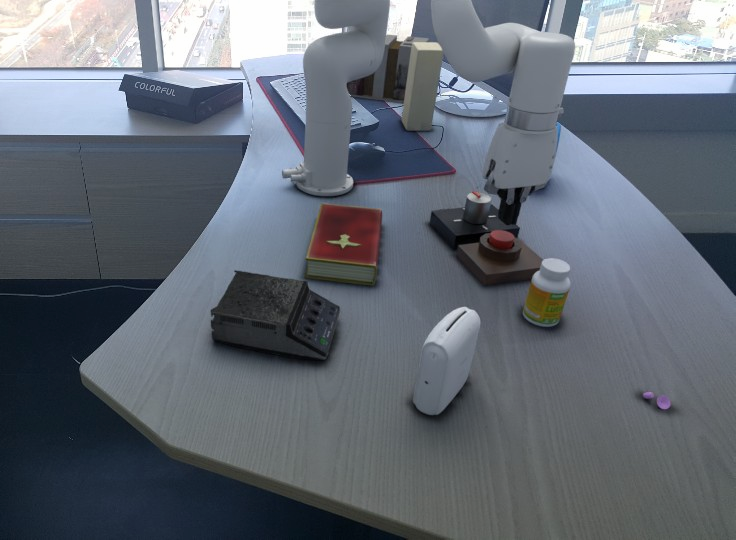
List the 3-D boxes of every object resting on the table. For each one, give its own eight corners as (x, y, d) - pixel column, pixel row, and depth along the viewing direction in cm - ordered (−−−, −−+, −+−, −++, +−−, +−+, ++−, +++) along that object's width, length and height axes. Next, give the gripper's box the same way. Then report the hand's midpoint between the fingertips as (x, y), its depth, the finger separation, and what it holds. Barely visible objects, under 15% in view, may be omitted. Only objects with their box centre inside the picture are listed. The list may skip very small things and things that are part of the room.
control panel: (453, 249, 117) (456, 234, 115) (429, 224, 125) (431, 209, 124) (516, 241, 120) (520, 227, 118) (488, 217, 128) (492, 203, 126)
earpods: (659, 412, 85) (664, 400, 85) (667, 412, 83) (672, 400, 83) (638, 399, 85) (644, 388, 85) (646, 399, 83) (651, 387, 84)
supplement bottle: (541, 331, 97) (558, 278, 91) (514, 313, 101) (528, 260, 95) (566, 321, 99) (584, 269, 94) (539, 303, 103) (554, 252, 98)
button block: (484, 285, 107) (488, 265, 105) (455, 255, 115) (459, 236, 113) (547, 277, 109) (553, 257, 107) (515, 248, 118) (520, 229, 115)
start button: (496, 251, 110) (498, 242, 109) (484, 239, 113) (485, 231, 112) (516, 248, 110) (519, 239, 109) (504, 237, 114) (506, 228, 113)
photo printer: (437, 421, 81) (453, 346, 74) (407, 406, 83) (420, 331, 77) (471, 379, 88) (489, 307, 81) (442, 366, 90) (458, 294, 83)
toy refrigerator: (434, 131, 169) (447, 49, 157) (406, 131, 169) (417, 49, 157) (427, 120, 175) (439, 41, 164) (401, 120, 175) (411, 41, 164)
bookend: (349, 80, 207) (353, 28, 198) (427, 89, 199) (434, 35, 190) (335, 94, 195) (339, 39, 186) (417, 104, 187) (425, 48, 178)
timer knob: (491, 223, 119) (496, 200, 117) (469, 225, 119) (474, 202, 116) (479, 212, 123) (484, 189, 120) (458, 214, 122) (463, 192, 120)
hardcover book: (381, 227, 124) (383, 207, 122) (375, 285, 107) (378, 264, 105) (320, 220, 126) (321, 201, 124) (304, 277, 109) (305, 256, 107)
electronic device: (326, 365, 90) (329, 331, 87) (210, 343, 94) (209, 310, 91) (340, 316, 100) (343, 284, 96) (234, 298, 104) (234, 267, 100)
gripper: (558, 106, 104) (533, 207, 114) (475, 113, 101) (456, 216, 111) (588, 121, 98) (558, 226, 107) (500, 129, 95) (478, 236, 105)
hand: (506, 221), depth 109 cm, fingers closed
